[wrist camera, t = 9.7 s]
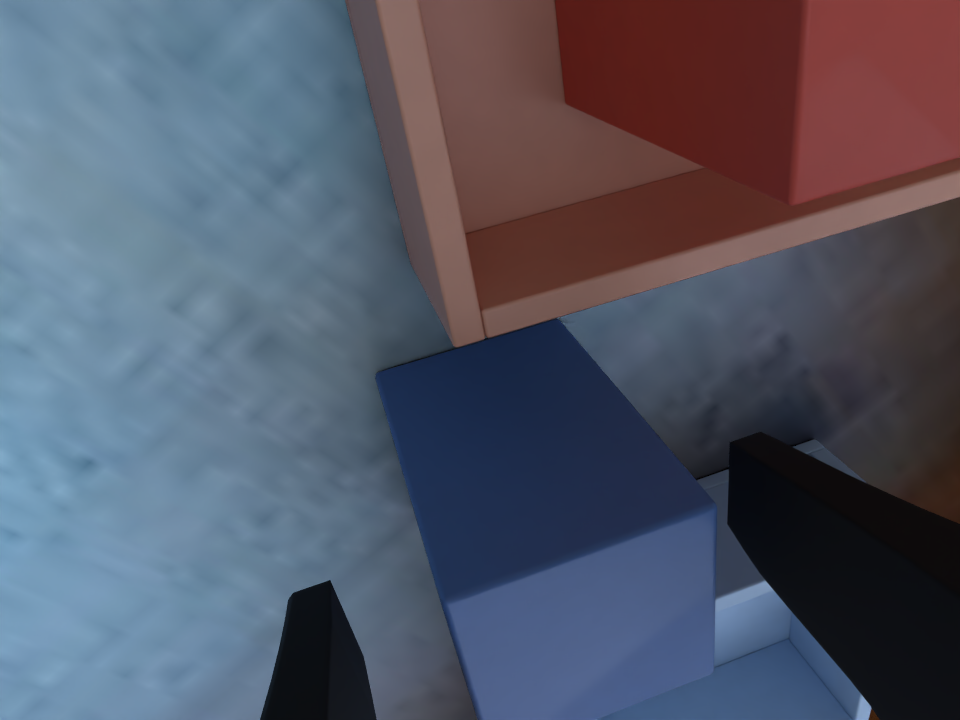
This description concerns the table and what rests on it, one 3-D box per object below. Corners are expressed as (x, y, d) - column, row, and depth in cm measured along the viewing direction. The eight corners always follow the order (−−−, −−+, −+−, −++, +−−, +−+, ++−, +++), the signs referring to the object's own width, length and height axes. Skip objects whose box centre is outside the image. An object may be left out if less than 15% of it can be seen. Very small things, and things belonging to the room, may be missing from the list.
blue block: (558, 316, 14) (720, 504, 9) (576, 459, 17) (716, 674, 12) (373, 371, 14) (441, 604, 9) (417, 512, 16) (491, 764, 11)
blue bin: (815, 438, 19) (916, 523, 16) (792, 632, 23) (868, 725, 20) (444, 566, 17) (482, 687, 14) (498, 747, 22) (534, 865, 19)
